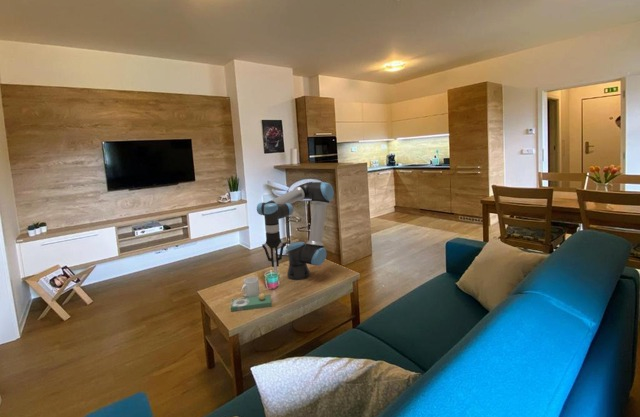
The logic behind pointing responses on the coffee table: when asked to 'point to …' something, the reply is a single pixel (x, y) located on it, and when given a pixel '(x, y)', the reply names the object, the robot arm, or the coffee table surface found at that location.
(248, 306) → the putting strip
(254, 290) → the mug
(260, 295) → the ball
